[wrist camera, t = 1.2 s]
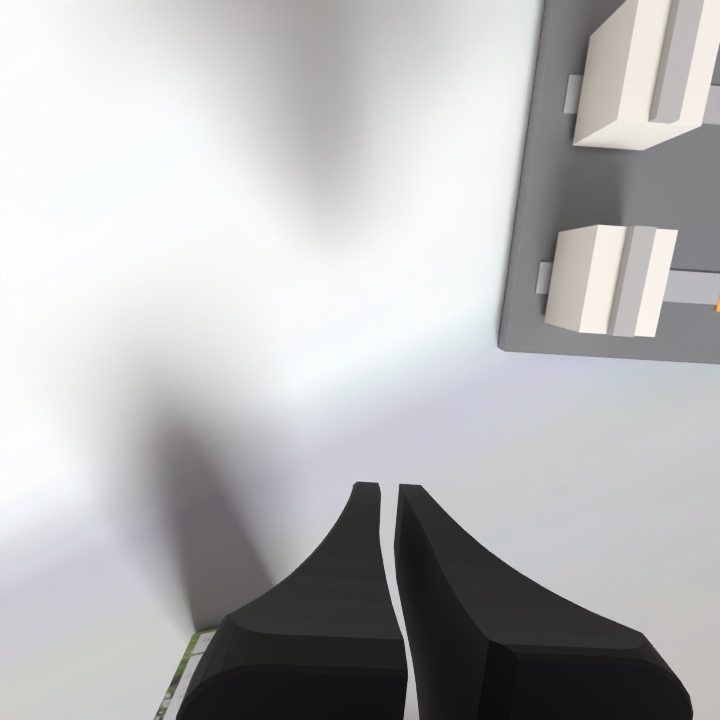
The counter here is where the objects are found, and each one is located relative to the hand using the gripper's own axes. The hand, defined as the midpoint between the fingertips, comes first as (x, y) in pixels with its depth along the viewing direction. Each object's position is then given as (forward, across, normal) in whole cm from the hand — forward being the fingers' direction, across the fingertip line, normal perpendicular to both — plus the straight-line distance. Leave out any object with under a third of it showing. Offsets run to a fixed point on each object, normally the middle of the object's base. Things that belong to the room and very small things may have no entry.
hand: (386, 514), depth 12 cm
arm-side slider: (+8, -9, -7) cm, 14 cm away
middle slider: (+8, -9, -14) cm, 19 cm away
